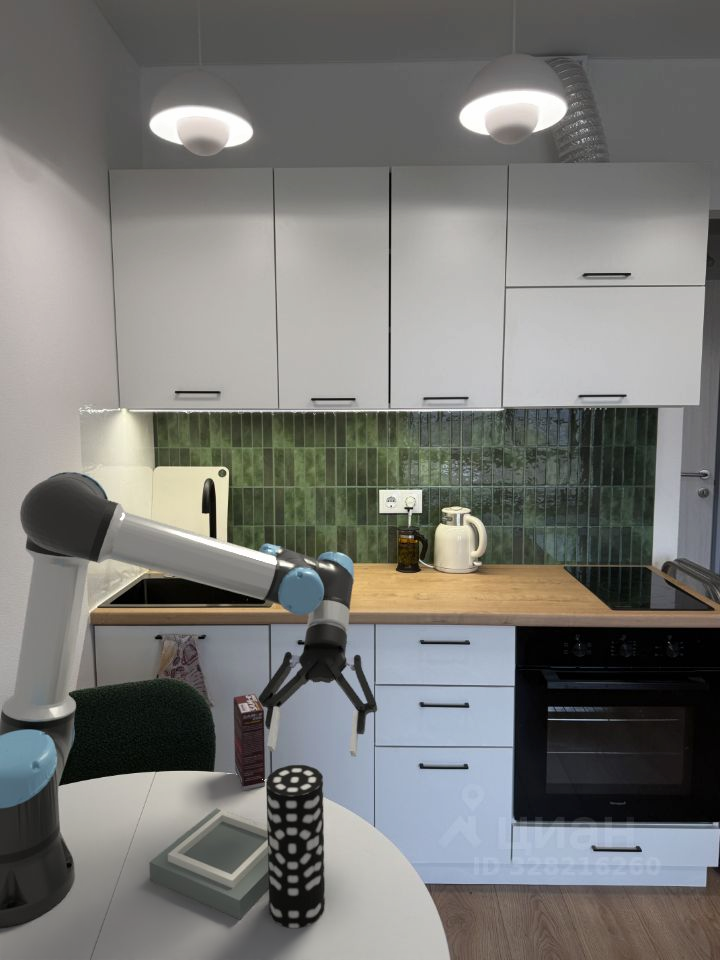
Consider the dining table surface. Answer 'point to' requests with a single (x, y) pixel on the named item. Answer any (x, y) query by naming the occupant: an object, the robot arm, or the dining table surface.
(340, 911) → the dining table surface
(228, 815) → the tray
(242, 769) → the supplement box
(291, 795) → the black polka dot cylinder
